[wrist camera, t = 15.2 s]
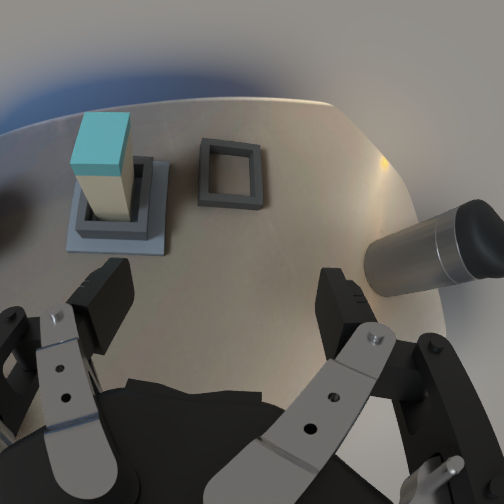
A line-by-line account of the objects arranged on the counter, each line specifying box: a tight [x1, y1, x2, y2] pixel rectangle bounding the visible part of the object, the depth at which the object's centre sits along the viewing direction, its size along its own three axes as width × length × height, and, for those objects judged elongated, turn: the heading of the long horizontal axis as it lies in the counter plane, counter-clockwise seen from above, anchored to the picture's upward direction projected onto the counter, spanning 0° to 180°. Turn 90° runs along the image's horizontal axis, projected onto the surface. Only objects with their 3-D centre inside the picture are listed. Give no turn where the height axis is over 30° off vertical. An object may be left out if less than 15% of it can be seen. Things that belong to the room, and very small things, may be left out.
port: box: [66, 156, 169, 256], centre depth 31 cm, size 12×12×4 cm
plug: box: [70, 112, 135, 222], centre depth 26 cm, size 4×5×14 cm
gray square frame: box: [198, 138, 264, 210], centre depth 38 cm, size 8×9×2 cm
